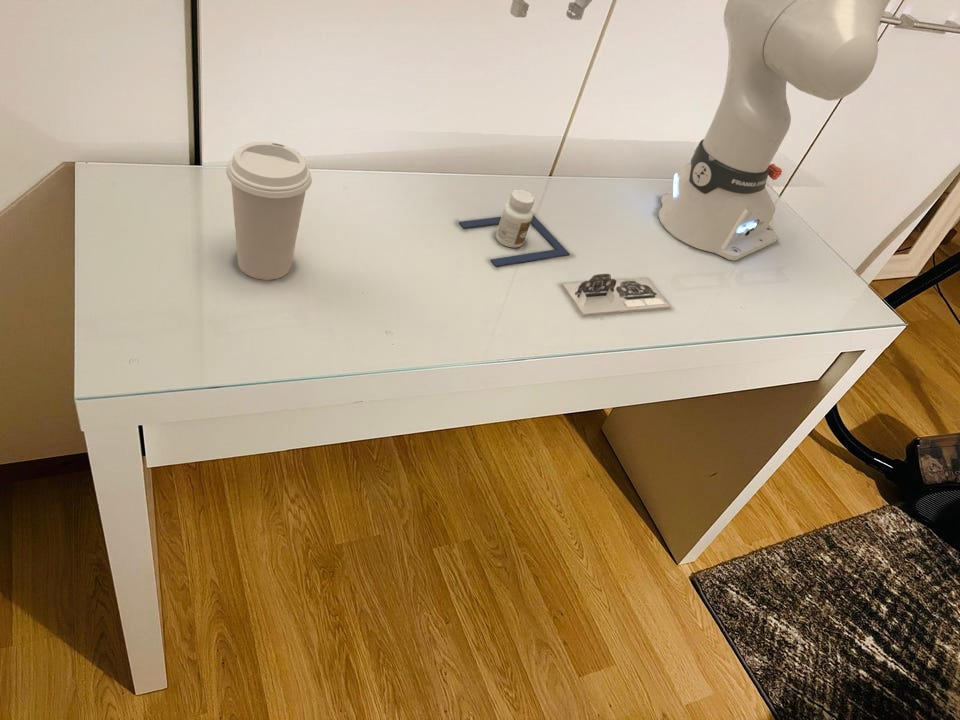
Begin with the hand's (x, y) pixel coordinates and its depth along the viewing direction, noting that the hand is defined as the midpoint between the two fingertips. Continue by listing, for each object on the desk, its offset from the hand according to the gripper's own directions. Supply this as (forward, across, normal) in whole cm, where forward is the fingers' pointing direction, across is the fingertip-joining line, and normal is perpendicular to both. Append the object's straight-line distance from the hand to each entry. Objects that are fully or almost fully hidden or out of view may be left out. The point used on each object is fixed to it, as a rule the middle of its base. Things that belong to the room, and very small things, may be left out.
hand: (546, 17), depth 102 cm
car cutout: (+29, +6, -26) cm, 40 cm away
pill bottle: (+29, -3, -10) cm, 31 cm away
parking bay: (+29, -3, -10) cm, 31 cm away
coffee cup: (+29, -40, -8) cm, 50 cm away
